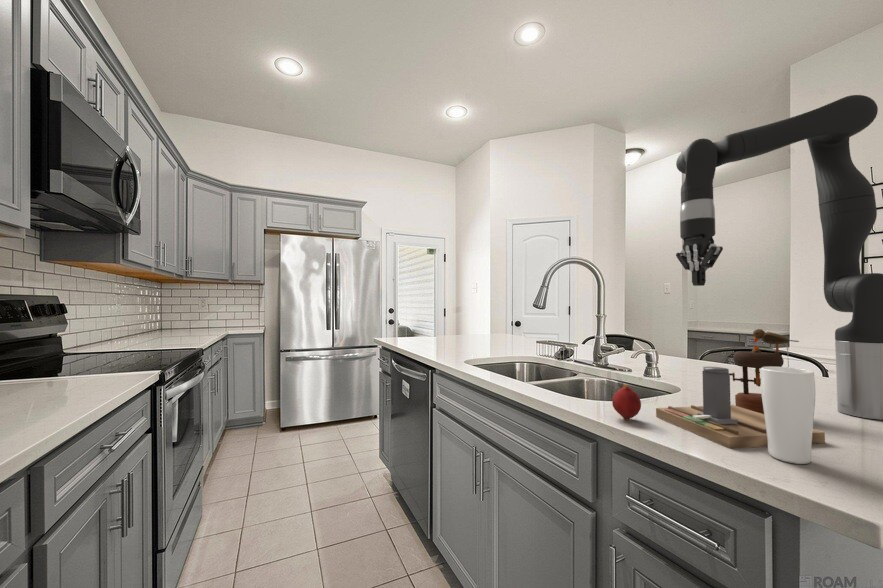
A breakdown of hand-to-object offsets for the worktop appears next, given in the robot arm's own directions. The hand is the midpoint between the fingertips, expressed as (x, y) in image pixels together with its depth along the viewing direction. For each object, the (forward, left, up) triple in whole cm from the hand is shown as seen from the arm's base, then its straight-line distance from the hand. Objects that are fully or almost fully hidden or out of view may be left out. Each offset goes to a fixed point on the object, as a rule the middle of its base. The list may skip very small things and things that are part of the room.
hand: (698, 285), depth 96 cm
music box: (-9, +7, -31) cm, 33 cm away
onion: (+26, +8, -31) cm, 41 cm away
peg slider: (+14, +18, -29) cm, 37 cm away
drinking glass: (+12, +31, -31) cm, 46 cm away
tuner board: (+8, +17, -31) cm, 36 cm away
